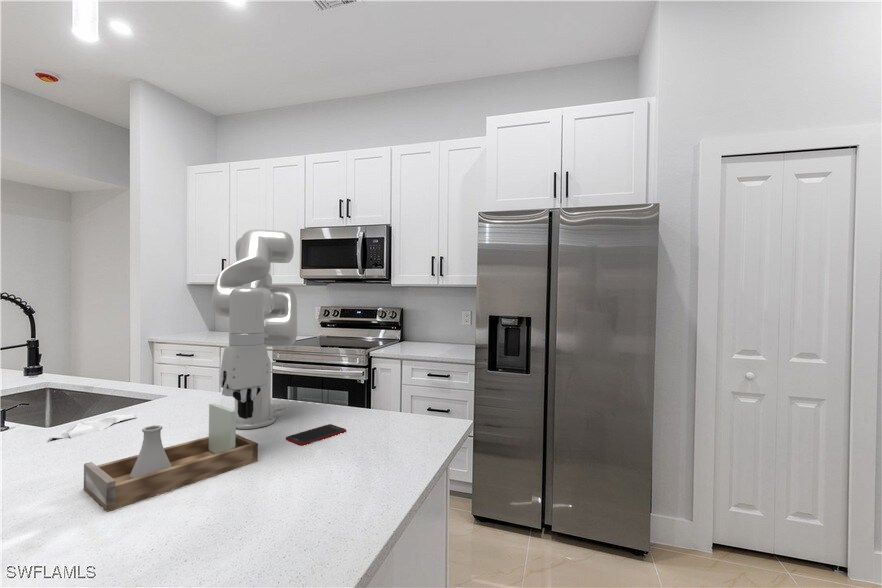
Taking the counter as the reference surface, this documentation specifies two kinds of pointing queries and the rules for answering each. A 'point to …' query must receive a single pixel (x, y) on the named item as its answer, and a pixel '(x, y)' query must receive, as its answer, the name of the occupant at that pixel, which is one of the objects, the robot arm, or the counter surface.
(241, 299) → the robot arm
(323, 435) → the cell phone
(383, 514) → the counter surface
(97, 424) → the cloth
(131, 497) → the wooden rimmed tray
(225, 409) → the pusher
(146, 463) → the flask
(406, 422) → the counter surface
